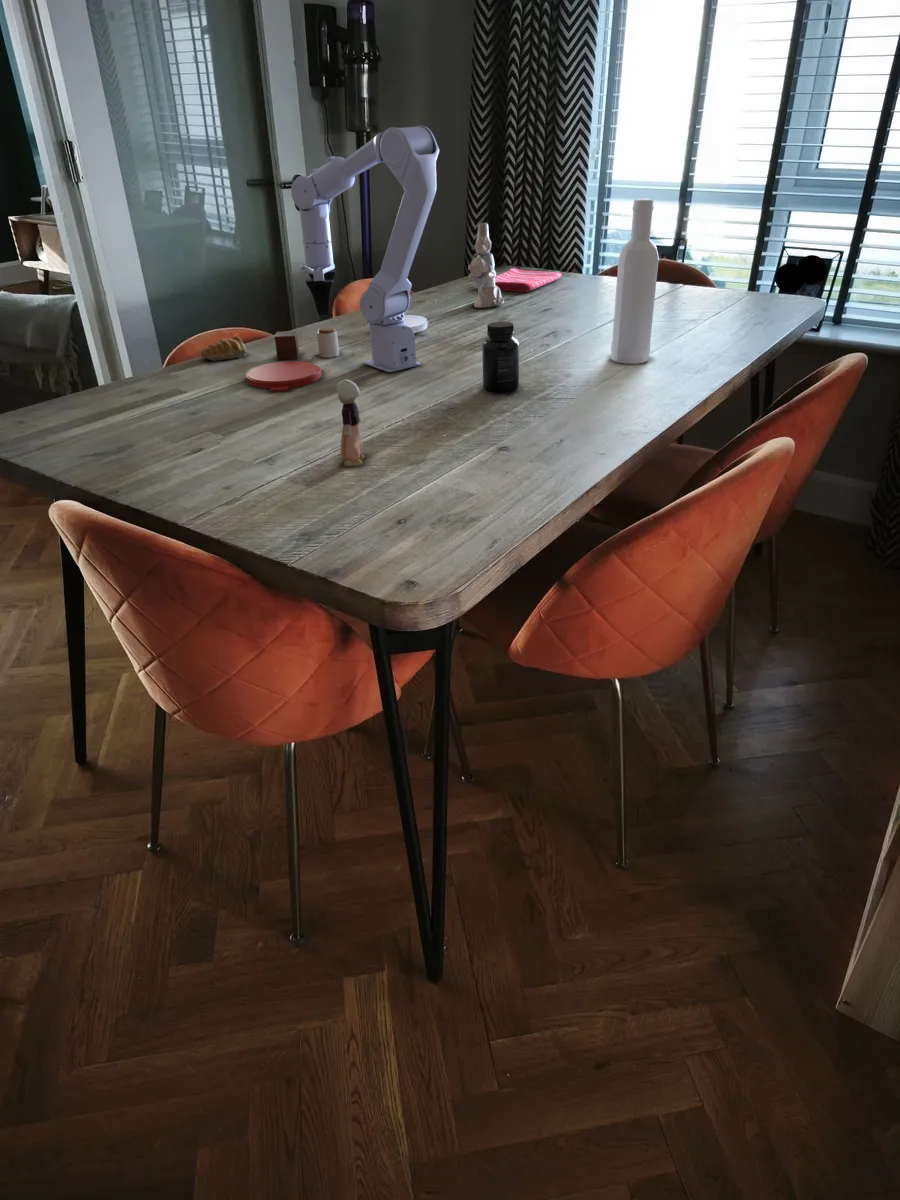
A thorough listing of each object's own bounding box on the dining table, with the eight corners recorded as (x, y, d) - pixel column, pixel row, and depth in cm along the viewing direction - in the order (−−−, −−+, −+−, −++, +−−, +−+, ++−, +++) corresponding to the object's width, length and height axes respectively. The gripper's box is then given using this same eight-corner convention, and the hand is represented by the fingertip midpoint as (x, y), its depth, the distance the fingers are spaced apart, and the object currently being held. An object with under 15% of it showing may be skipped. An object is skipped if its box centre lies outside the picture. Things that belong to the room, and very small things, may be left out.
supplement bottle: (522, 385, 154) (524, 320, 148) (513, 395, 149) (514, 329, 142) (488, 382, 156) (488, 318, 150) (478, 393, 151) (477, 327, 144)
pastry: (210, 364, 173) (206, 346, 171) (197, 358, 177) (193, 340, 175) (249, 355, 178) (246, 338, 176) (236, 350, 182) (233, 333, 180)
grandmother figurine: (342, 453, 126) (333, 373, 120) (366, 452, 127) (359, 372, 120) (340, 472, 120) (331, 389, 113) (366, 471, 120) (358, 387, 113)
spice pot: (343, 354, 176) (340, 328, 173) (326, 358, 174) (323, 332, 171) (332, 351, 179) (329, 325, 176) (315, 355, 177) (312, 328, 174)
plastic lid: (359, 337, 189) (358, 326, 188) (385, 323, 200) (384, 313, 199) (413, 341, 184) (412, 330, 183) (436, 327, 195) (436, 316, 194)
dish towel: (476, 289, 233) (476, 279, 232) (512, 275, 250) (512, 266, 249) (529, 293, 226) (529, 283, 224) (562, 278, 243) (563, 269, 242)
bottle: (656, 358, 167) (673, 198, 151) (636, 366, 162) (651, 202, 147) (623, 351, 172) (636, 196, 156) (602, 360, 167) (614, 200, 151)
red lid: (251, 369, 168) (250, 362, 168) (323, 365, 169) (322, 359, 169) (240, 393, 154) (239, 386, 154) (318, 389, 155) (317, 382, 154)
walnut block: (298, 359, 174) (295, 335, 172) (277, 360, 174) (274, 336, 171) (299, 353, 178) (296, 330, 175) (279, 354, 178) (276, 331, 175)
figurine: (483, 301, 219) (482, 220, 209) (509, 304, 215) (509, 222, 205) (464, 307, 213) (462, 225, 203) (490, 310, 209) (490, 226, 199)
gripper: (300, 237, 170) (308, 304, 177) (294, 248, 158) (303, 319, 165) (333, 236, 171) (340, 302, 178) (330, 246, 158) (337, 317, 165)
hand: (324, 310), depth 171 cm, fingers open, 7 cm apart
